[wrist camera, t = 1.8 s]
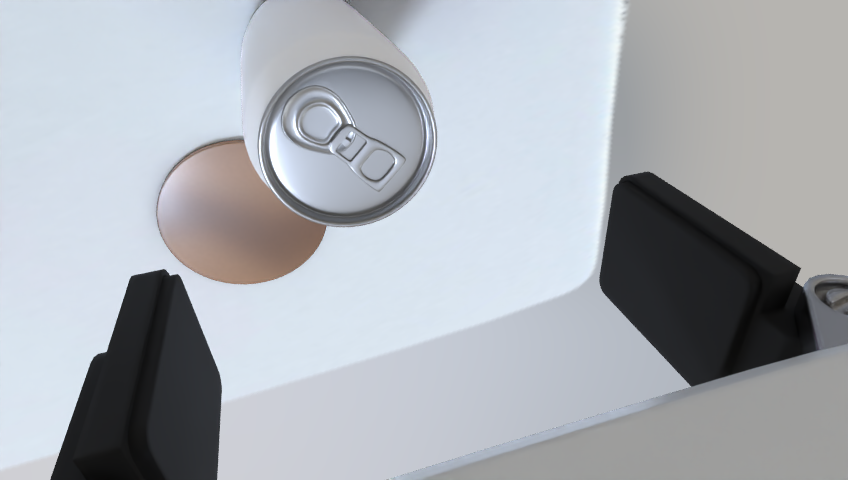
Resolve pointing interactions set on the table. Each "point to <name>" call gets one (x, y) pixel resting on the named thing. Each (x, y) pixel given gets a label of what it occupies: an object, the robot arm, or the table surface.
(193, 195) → the coaster
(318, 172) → the can
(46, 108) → the table surface
